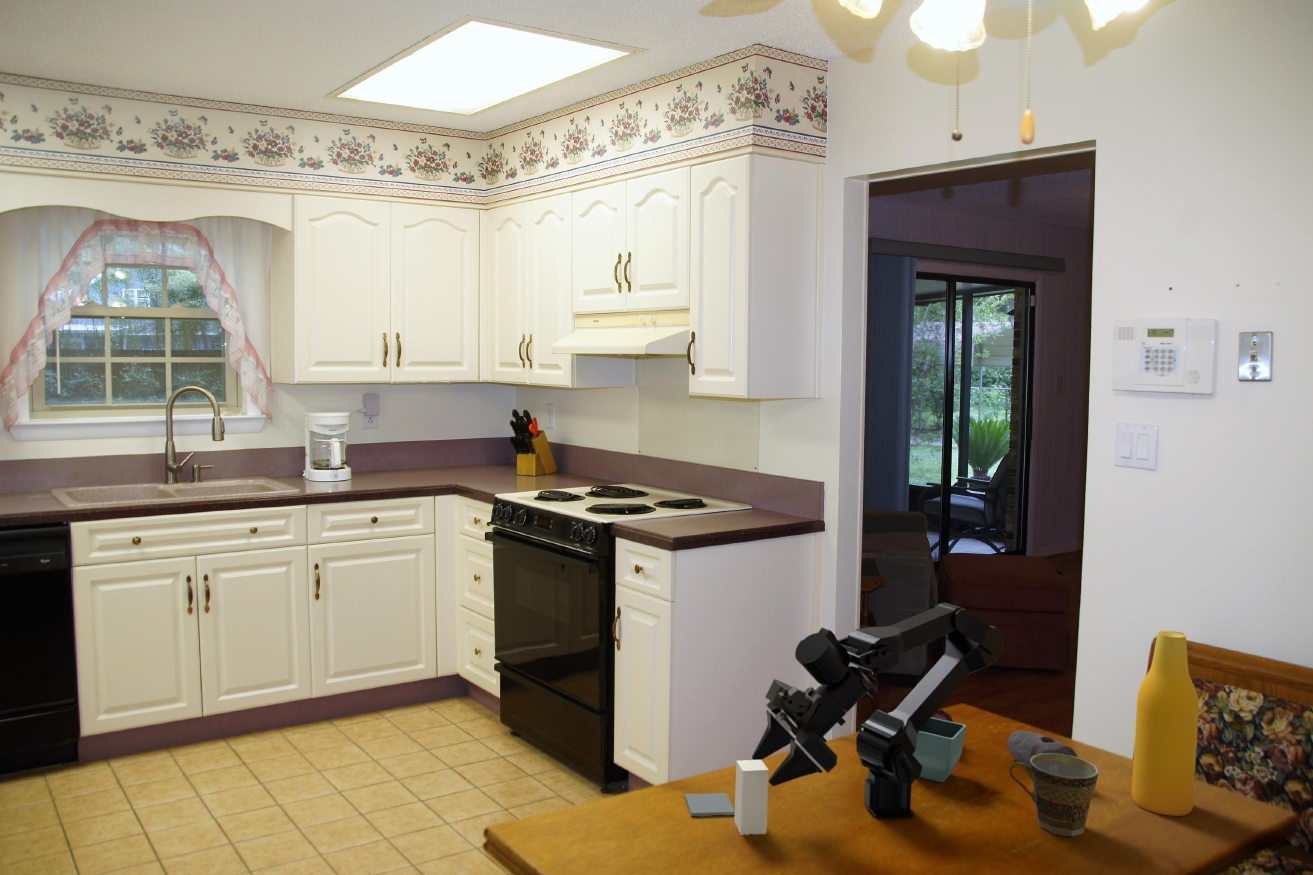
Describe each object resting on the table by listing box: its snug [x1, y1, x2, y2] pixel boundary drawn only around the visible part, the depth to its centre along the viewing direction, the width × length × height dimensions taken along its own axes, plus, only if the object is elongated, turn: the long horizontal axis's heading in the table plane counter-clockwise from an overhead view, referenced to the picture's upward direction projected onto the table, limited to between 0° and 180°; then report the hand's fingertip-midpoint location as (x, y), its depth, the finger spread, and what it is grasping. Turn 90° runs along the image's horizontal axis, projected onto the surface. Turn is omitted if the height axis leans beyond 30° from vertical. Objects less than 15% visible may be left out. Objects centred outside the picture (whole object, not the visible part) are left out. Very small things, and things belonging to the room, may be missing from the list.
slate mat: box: [684, 792, 735, 817], centre depth 159 cm, size 7×7×1 cm
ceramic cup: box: [1008, 753, 1099, 837], centre depth 155 cm, size 13×10×10 cm
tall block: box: [733, 759, 769, 836], centre depth 151 cm, size 4×4×10 cm
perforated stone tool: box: [1007, 730, 1078, 767], centre depth 177 cm, size 15×5×7 cm, turn 20°
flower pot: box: [913, 717, 967, 783], centre depth 174 cm, size 9×9×9 cm
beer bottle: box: [1131, 630, 1200, 817], centre depth 163 cm, size 9×9×29 cm
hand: (761, 771), depth 151 cm, fingers open, 9 cm apart
